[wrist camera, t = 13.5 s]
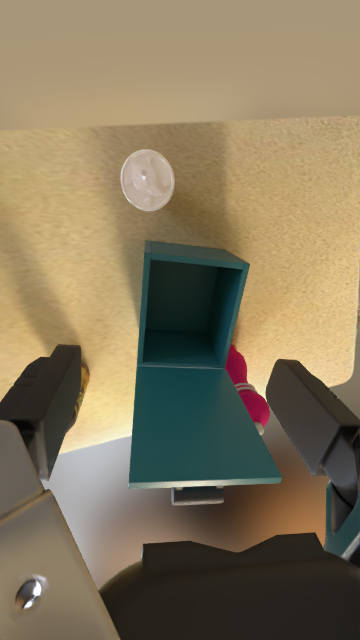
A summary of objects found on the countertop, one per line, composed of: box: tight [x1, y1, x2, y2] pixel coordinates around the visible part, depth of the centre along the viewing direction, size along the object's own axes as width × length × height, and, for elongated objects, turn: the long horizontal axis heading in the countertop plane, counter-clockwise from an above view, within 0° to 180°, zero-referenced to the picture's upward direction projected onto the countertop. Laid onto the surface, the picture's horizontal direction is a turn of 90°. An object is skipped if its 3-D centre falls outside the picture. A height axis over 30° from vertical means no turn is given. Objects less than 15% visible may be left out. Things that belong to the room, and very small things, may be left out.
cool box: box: [137, 240, 250, 369], centre depth 40 cm, size 17×14×12 cm
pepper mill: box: [225, 344, 270, 435], centre depth 43 cm, size 7×7×20 cm
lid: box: [128, 366, 282, 505], centre depth 30 cm, size 17×14×6 cm
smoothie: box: [120, 149, 175, 211], centre depth 31 cm, size 6×6×14 cm
